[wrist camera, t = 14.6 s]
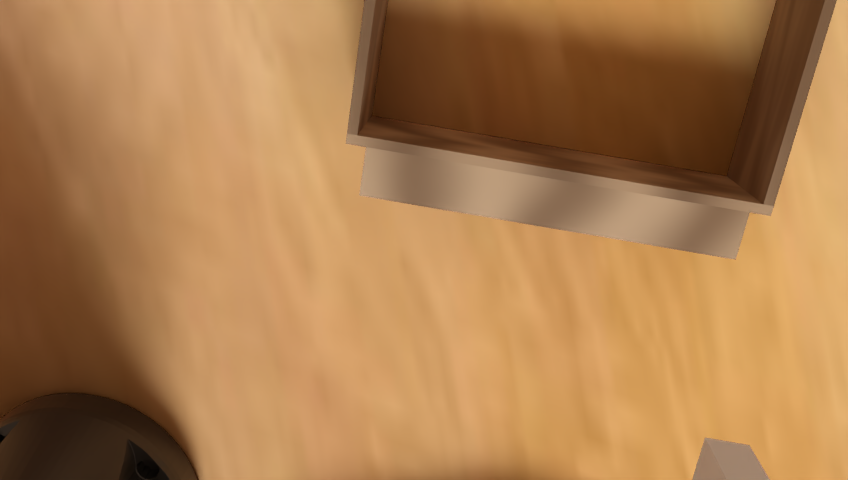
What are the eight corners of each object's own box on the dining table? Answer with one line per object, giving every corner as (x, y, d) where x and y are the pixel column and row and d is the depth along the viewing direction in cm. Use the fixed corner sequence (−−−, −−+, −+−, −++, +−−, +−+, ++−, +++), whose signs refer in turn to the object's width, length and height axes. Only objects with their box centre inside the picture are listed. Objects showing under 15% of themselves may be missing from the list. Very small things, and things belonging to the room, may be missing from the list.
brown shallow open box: (355, 166, 46) (339, 192, 41) (403, -182, 41) (392, -209, 35) (721, 228, 46) (756, 263, 40) (818, -112, 41) (875, -128, 35)
